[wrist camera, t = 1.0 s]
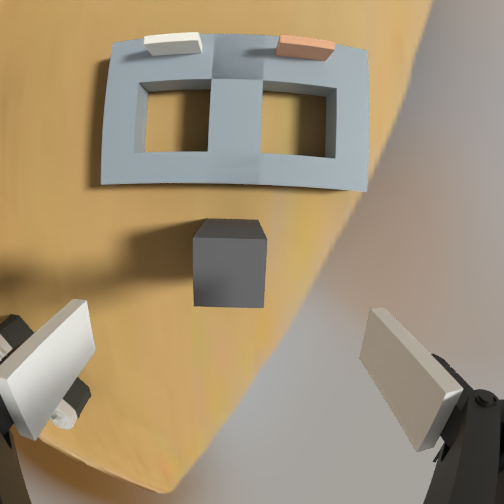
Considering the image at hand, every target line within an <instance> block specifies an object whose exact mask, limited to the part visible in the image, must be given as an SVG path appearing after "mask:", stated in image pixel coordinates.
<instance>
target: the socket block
mask: <svg viewBox="0 0 504 504" xmlns="http://www.w3.org/2000/svg"><path fill="white" fill-rule="evenodd" d="M199 89H211V97H210V115H209V135H208V152H148V153H145V139H146V122H147V108H148V95H149V92H154V91H170V90H199ZM263 91H272V92H285V93H296V94H306V95H314V96H322V97H326V138H325V158H323V157H312V156H300V155H286V154H270V153H260V145H261V119H262V93H263ZM368 160H369V70H368V51H367V50H362V49H358V48H353V47H348V46H343V45H338V44H335V42H333V41H327V40H320V39H314V38H307V37H299V36H290V35H280V37H279V36H266V35H248V34H199V32H190V33H173V34H161V35H152V36H145V38H143V39H135V40H128V41H122V42H116V43H113V46H112V52H111V58H110V65H109V72H108V79H107V88H106V97H105V107H104V118H103V133H102V153H101V185H105V184H136V183H226V184H258V185H280V186H298V187H313V188H327V189H340V190H351V191H362V192H367V180H368Z"/></svg>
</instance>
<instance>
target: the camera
mask: <svg viewBox="0 0 504 504" xmlns="http://www.w3.org/2000/svg"><path fill="white" fill-rule="evenodd" d="M33 334H34V332H33V331H32V330H31V329H30V328H29V326H28V325H27V324H26V323H25V322H24V321H23V319H22V318H21V317H20V316H19V315H10V317H9V318H7V319H6V320H5V321H3V322H2V323H1V324H0V361H1V359H2V358H3V357H4V356H5V355H6V356H7V353H8V352H10V351H11V350H12V349H13V348H14V347H16V346H18V345H20V344H22V343H24V342H25V341H26V340H27V339H28V338H30V337H31V336H32V335H33ZM90 397H91V393H90V389H89V387H88V386H87V385H86V384H85V383H84V382H83V381H82V380H80V379H79V378H78V377H77V378H76V379H75V381H74V382H73V384H72V385H71V387H70V388H69V390H68V391H67V393H66V394H65V396H64V397H63V399H62V400H61V402H60V403H59V405H58V406H57V408H56V409H55V411H54V412H53V414H52V415H51V417H50V418H49V419H51V420H52V421H53V423H54V425H55V424H56V425H57V427H59V428H64V429H67V430H69V429H71V428H72V427H73V426H74V424H75V422H76V420H77V419H78V418H79V417H80V413H81V412H82V410H83V408H84V406H85V405H86V403H87V401H88V399H89V398H90Z"/></svg>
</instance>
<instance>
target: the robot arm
mask: <svg viewBox="0 0 504 504" xmlns="http://www.w3.org/2000/svg"><path fill="white" fill-rule="evenodd" d="M95 351H96V349H95V344H94V339H93V334H92V329H91V323H90V318H89V312H88V305H87V300H79V299H73V300H72V301H70V302H69V303H68V304H67V305H66V306H65V307H63V308H62V309H61V310H60V311H59V312H58V313H56V314H55V315H54V316H53V317H52V318H51V319H50V320H48V321H47V322H46V323H45V324H44V325H43V326H42V327H41V328H39V329H38V330H37V331H36V332H35V333H34V334H33V335H32V336H31V337H30V338H28V339H27V340H26V341H25V342H24V343H22V344H20V345H18V346H16V347H14V348H13V349H12V350H11V351H10V352H8V353H7V356H6V355H5V356H4V357H3V358H2V359H1V361H0V504H31V501H30V498H29V495H28V492H27V489H26V485H25V482H24V479H23V475H22V472H21V468H20V464H19V460H18V456H17V452H16V448H15V443H14V438H13V435H12V433H11V431H10V428H11V426H12V425H13V424H14V425H15V427H16V429H17V430H18V432H19V434H20V435H22V436H24V437H27V438H29V439H32V440H36V439H37V437H38V436H39V434H40V433H41V431H42V429H43V428H44V426H45V425H46V423H47V421H48V420H49V418H50V417H51V415H52V414H53V412H54V411H55V409H56V408H57V406H58V405H59V403H60V402H61V400H62V399H63V397H64V396H65V394H66V393H67V391H68V390H69V388H70V387H71V385H72V384H73V382H74V381H75V379H76V378H77V377H78V375H79V374H80V372H81V371H82V369H83V368H84V367H85V365H86V364H87V362H88V361H89V360H90V358H91V357H92V355H93V354H94V353H95ZM360 360H361V361H362V363H363V365H364V366H365V368H366V369H367V371H368V372H369V374H370V375H371V377H372V379H373V381H374V382H375V384H376V385H377V387H378V389H379V390H380V392H381V394H382V395H383V397H384V399H385V400H386V402H387V403H388V405H389V407H390V408H391V410H392V412H393V413H394V415H395V416H396V418H397V420H398V421H399V423H400V425H401V426H402V428H403V430H404V431H405V433H406V435H407V437H408V438H409V440H410V442H411V443H412V445H413V447H414V449H415V450H416V452H419V451H423V450H426V449H429V448H433V447H434V446H435V444H436V442H437V440H438V439H439V437H440V436H441V437H442V439H443V440H444V444H443V446H442V447H441V449H440V451H439V452H438V454H437V456H436V457H435V459H434V460H433V462H436V460H437V459H438V461H437V464H436V468H435V471H434V474H433V478H432V480H431V484H430V486H429V490H428V492H427V495H426V498H425V500H424V503H423V504H504V400H499V399H498V398H497V397H496V396H495V395H494V394H493V393H491V392H490V391H487V390H482V389H478V390H473V389H472V388H471V387H470V386H469V385H468V384H467V383H466V382H465V381H464V380H463V378H462V377H461V376H460V375H459V374H458V373H456V372H455V370H454V369H453V368H450V365H449V364H448V363H447V362H446V361H445V360H444V359H442V358H441V357H439V356H437V355H435V354H430V353H429V352H428V351H427V350H426V349H425V348H424V347H423V346H422V345H421V344H420V343H419V342H418V341H417V340H416V339H415V338H414V337H413V336H412V335H411V334H410V333H409V332H408V331H407V330H406V329H405V328H404V327H403V326H402V325H401V324H400V323H399V322H398V321H397V320H396V319H395V318H394V317H393V316H392V315H391V314H390V313H389V312H388V311H387V310H386V309H385V308H370V309H369V315H368V320H367V325H366V330H365V335H364V340H363V344H362V349H361V353H360Z"/></svg>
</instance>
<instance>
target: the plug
mask: <svg viewBox="0 0 504 504" xmlns="http://www.w3.org/2000/svg"><path fill="white" fill-rule="evenodd" d="M266 253H267V238H266V236H265V234H264V232H263V229H262V227H261V225H260V223H259V221H258V220H245V219H206V220H205V221H204V223H203V224H202V225H201V227H200V228H199V230H198V231H197V232H196V234H195V235H194V237H193V291H194V306H203V307H237V308H264V291H265V272H266Z"/></svg>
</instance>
